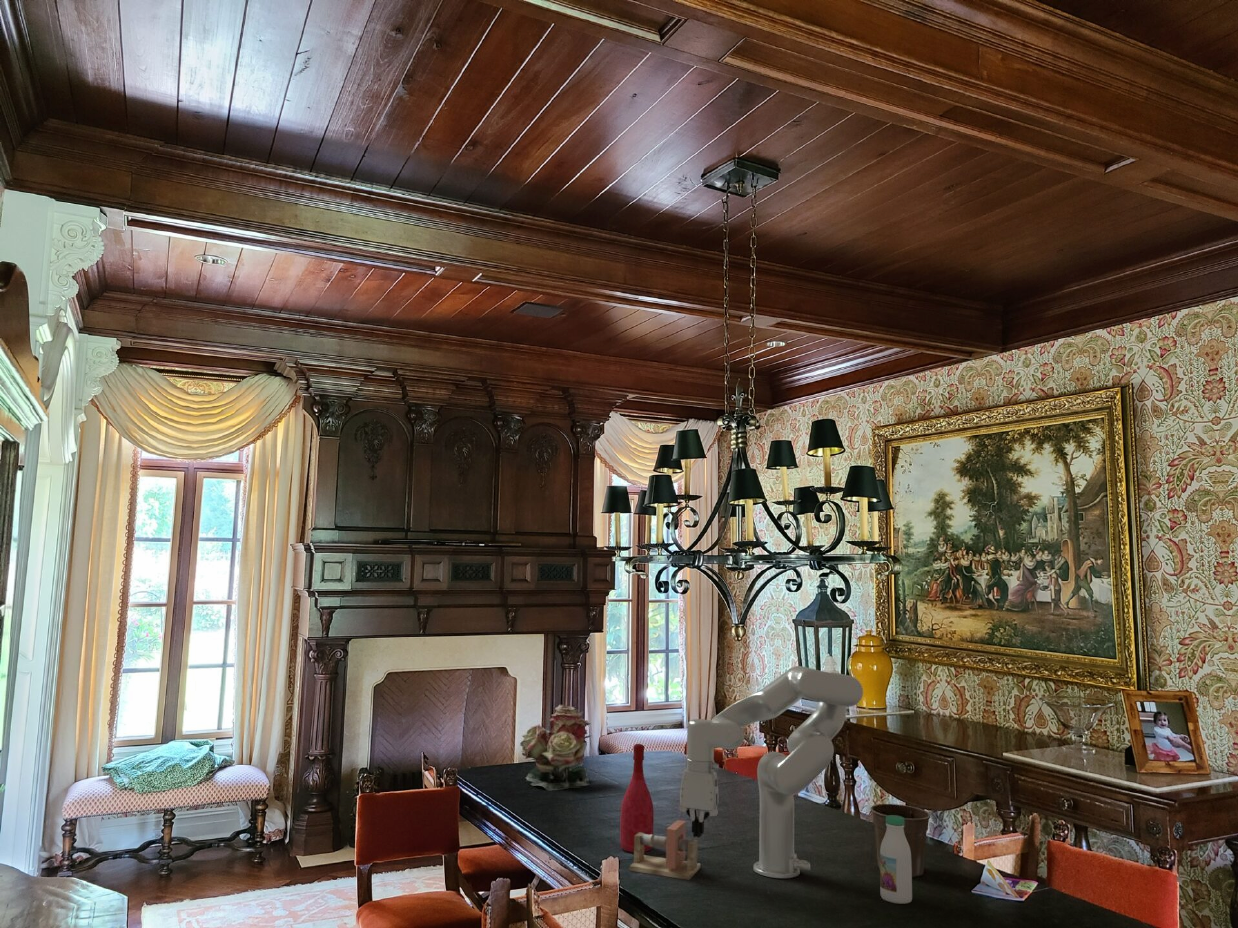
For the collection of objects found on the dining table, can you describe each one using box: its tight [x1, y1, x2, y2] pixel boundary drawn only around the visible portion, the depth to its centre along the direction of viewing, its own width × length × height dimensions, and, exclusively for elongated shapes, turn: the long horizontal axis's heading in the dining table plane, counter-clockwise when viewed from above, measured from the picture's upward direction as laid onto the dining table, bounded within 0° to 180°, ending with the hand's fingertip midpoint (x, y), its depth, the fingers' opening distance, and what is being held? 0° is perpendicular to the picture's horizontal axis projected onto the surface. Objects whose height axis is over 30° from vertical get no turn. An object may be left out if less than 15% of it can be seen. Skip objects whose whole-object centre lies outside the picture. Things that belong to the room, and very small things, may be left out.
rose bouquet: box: [519, 704, 592, 791], centre depth 339 cm, size 26×29×30 cm
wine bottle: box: [619, 743, 655, 854], centre depth 256 cm, size 10×10×30 cm
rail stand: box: [628, 832, 701, 881], centre depth 237 cm, size 17×11×9 cm, turn 69°
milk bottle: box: [879, 815, 913, 905], centre depth 220 cm, size 8×8×20 cm
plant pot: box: [870, 803, 932, 878], centre depth 242 cm, size 16×16×16 cm
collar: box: [665, 819, 687, 869], centre depth 236 cm, size 2×10×10 cm, turn 159°
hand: (697, 835), depth 234 cm, fingers closed
